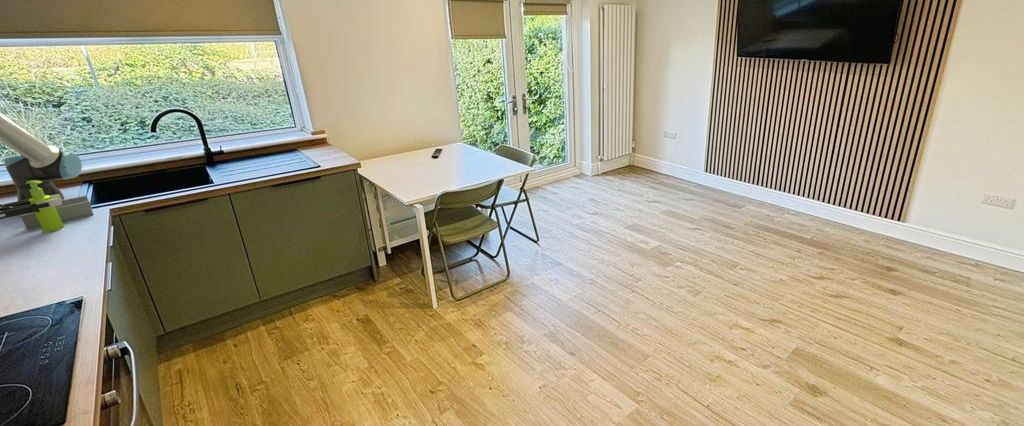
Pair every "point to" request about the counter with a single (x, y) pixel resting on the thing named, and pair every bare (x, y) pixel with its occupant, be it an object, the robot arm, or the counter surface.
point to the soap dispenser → (45, 216)
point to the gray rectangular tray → (63, 211)
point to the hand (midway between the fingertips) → (60, 199)
